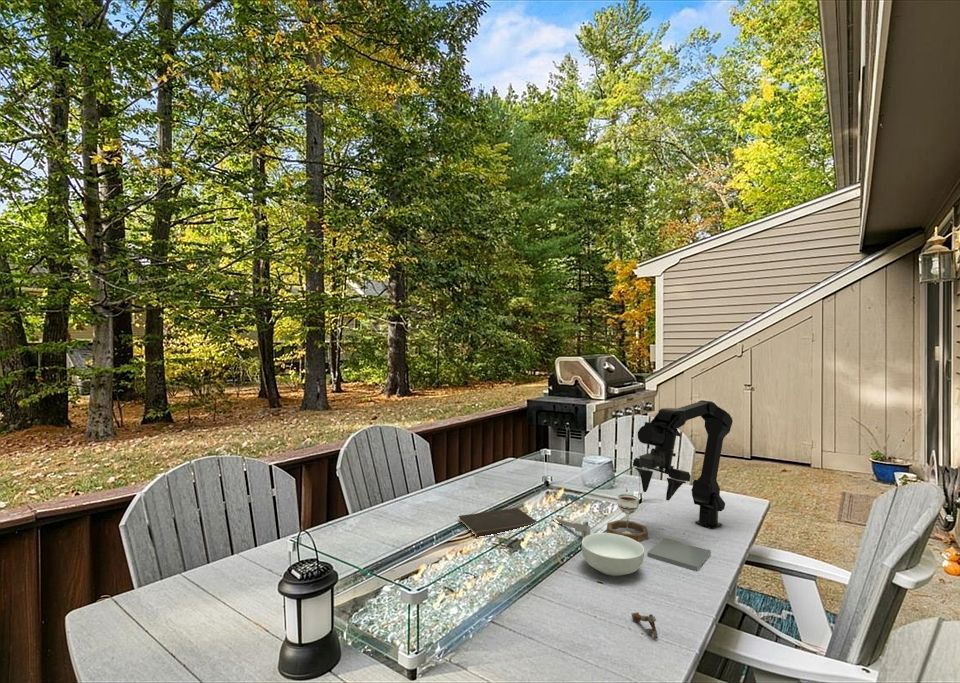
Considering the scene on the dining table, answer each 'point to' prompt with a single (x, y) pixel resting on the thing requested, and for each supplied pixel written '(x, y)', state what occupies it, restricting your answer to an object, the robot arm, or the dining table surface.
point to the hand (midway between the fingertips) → (655, 496)
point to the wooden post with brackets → (650, 619)
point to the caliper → (576, 526)
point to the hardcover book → (496, 521)
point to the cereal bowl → (612, 553)
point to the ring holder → (631, 525)
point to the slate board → (679, 554)
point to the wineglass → (627, 506)
